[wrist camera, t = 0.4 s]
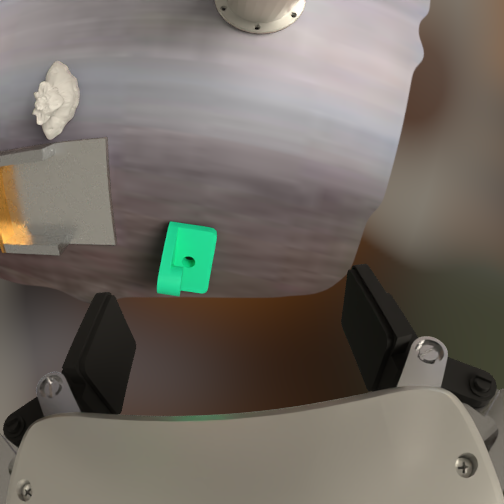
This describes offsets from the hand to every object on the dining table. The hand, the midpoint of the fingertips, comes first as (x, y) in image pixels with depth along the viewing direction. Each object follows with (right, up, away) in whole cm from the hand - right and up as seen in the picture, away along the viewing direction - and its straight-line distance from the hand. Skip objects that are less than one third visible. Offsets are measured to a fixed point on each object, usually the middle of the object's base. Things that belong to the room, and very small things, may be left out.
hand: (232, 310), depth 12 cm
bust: (-27, +26, +23) cm, 44 cm away
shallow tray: (-33, +12, +31) cm, 47 cm away
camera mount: (-10, +2, +39) cm, 40 cm away
